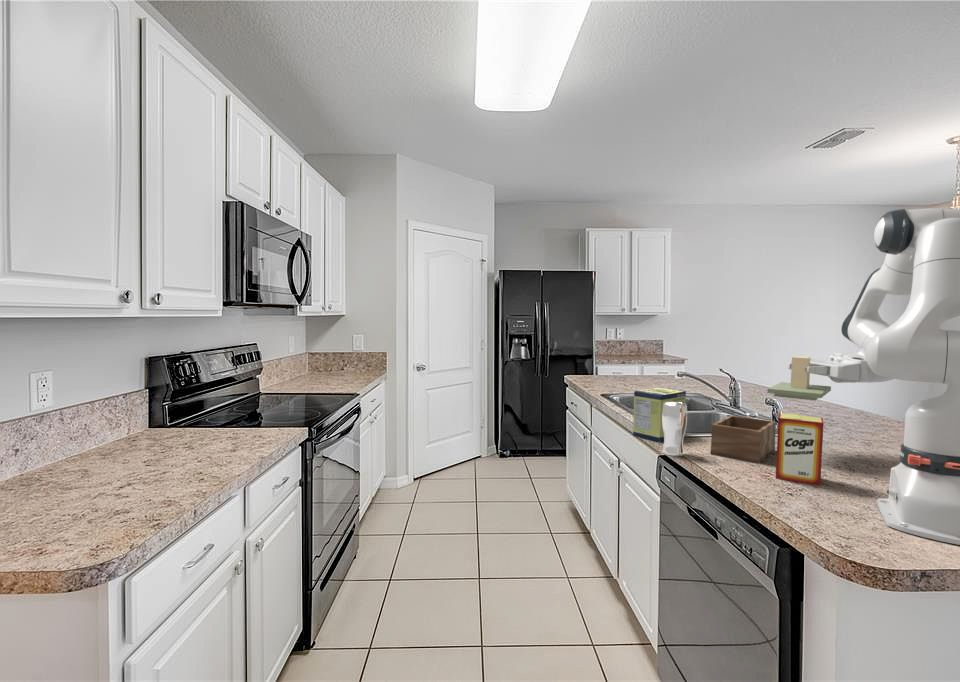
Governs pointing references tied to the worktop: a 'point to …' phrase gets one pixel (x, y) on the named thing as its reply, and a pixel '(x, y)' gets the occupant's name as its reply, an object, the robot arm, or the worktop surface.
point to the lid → (799, 383)
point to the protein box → (652, 411)
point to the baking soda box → (799, 448)
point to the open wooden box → (743, 438)
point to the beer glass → (674, 427)
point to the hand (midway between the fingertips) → (798, 368)
